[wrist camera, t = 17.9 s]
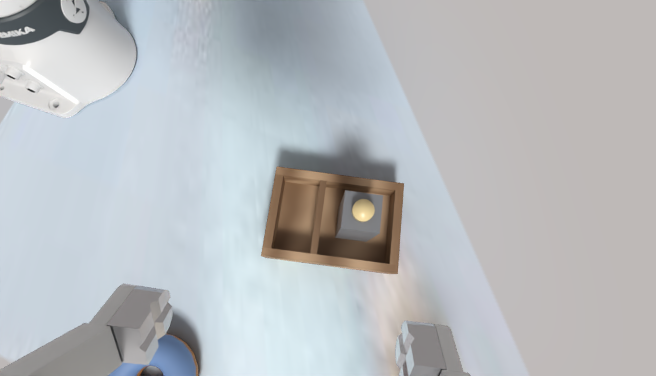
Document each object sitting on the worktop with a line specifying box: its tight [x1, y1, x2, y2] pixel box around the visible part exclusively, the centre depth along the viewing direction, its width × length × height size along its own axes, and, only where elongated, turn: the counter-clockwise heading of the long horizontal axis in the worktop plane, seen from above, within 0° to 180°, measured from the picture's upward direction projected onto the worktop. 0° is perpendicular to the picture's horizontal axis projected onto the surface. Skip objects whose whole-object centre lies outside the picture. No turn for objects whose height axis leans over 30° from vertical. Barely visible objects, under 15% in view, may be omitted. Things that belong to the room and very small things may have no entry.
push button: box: [335, 190, 383, 242], centre depth 38 cm, size 4×4×10 cm
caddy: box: [261, 167, 404, 274], centre depth 42 cm, size 16×11×4 cm
